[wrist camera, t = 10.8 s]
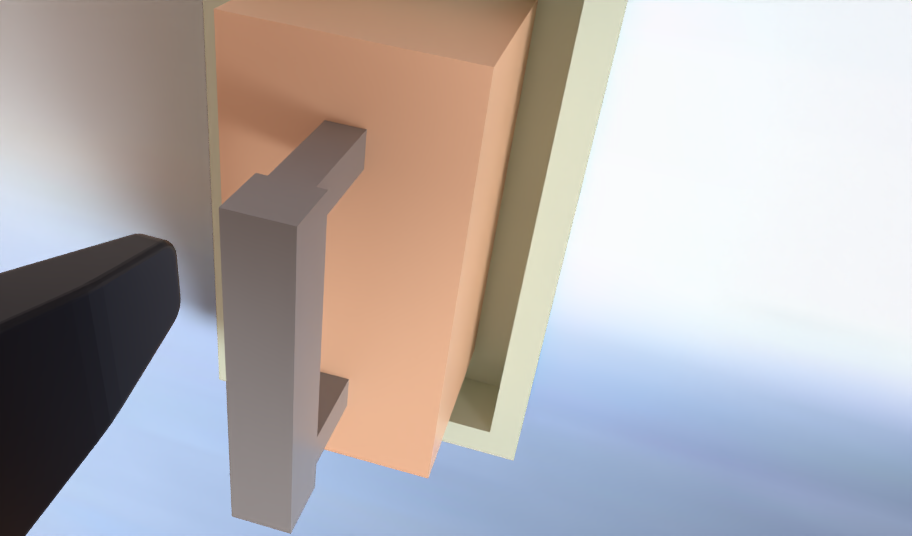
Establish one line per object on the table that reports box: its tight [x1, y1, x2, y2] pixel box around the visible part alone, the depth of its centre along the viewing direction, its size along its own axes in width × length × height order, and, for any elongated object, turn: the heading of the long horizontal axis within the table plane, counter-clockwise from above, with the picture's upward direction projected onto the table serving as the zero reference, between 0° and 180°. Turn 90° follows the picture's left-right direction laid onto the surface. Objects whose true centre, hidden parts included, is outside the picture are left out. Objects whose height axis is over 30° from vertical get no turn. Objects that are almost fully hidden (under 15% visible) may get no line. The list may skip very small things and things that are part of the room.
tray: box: [203, 0, 628, 460], centre depth 20 cm, size 9×14×2 cm, turn 172°
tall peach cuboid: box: [214, 0, 538, 534], centre depth 17 cm, size 5×10×9 cm, turn 172°
